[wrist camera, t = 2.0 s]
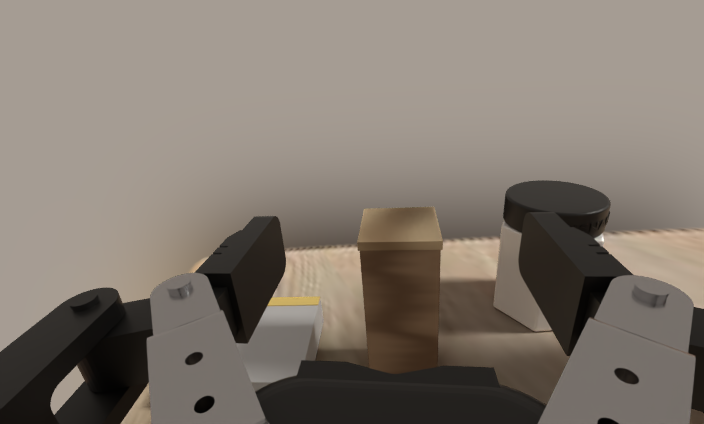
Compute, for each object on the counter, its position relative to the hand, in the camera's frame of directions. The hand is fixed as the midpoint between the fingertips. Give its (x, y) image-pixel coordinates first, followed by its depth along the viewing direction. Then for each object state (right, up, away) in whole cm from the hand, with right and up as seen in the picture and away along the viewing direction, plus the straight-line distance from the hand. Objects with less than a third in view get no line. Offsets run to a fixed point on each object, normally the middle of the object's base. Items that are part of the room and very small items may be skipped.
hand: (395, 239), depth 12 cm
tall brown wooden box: (+3, -13, +18) cm, 22 cm away
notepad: (-10, -13, +20) cm, 26 cm away
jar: (+17, -9, +24) cm, 31 cm away
